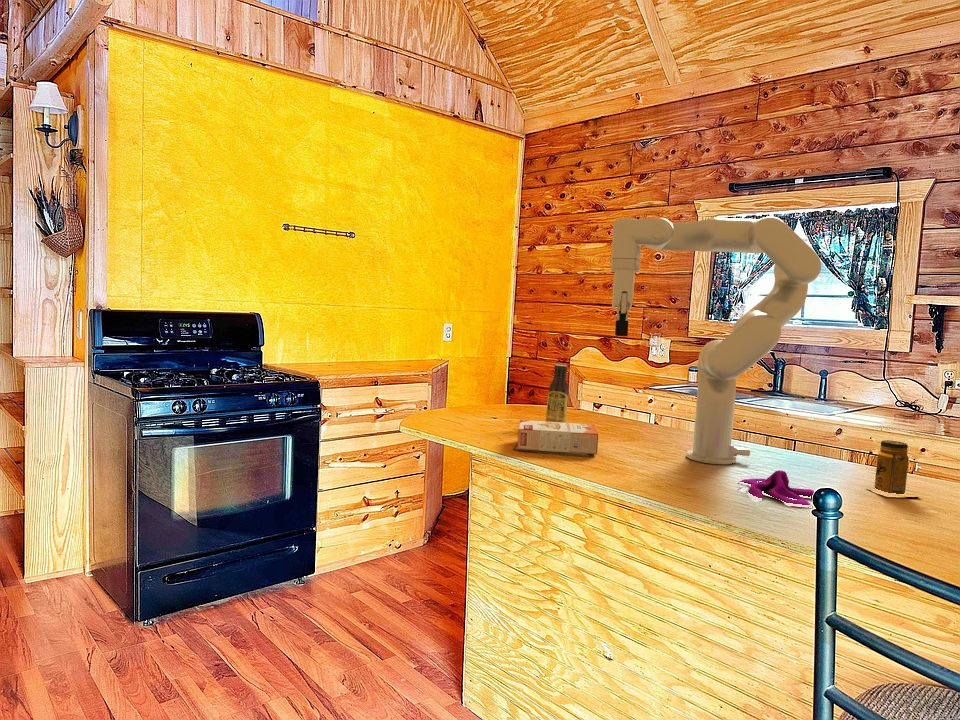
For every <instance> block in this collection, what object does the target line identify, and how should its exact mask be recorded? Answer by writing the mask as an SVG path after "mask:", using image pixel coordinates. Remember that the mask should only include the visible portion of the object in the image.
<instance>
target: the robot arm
mask: <svg viewBox="0 0 960 720" xmlns="http://www.w3.org/2000/svg"><path fill="white" fill-rule="evenodd" d="M611 243H612V244H611V258H610V272H612V273H614V274H613V275H614V276H613V284H612V285H613V286H612V300H611V303H612V304H611V308H612V309H616V308H617V309H616V311H617V312H616V321H615V329H614V335H615V336H616V337H628V334H629V310H630V309H632V305H633V299H634V290H635V280H636V279H635V277H636V276H635V275H636V273H640V272H641V256H642V246H645V247H646V248H647V249H650V250H655V251H660V250H661V251H695V252H705V253H707V252H710V253H711V252H713V253H741V254H743V253H744V254H745V253H746V254H765V255H766V256H767V257H768V258H769V259H770V261H771V262H773V264H774V266H773V274H774V275H773V276H774V284H773V287H772V289H771V290H770V292H768V294H767V295H766V296H765V297H764V298H763V299H761V300H760V301H759V302H758V303H756V304H755V305H754V306H753V307H752V308H750V309H749V311H747V312H746V313H744V314H742V315H741V316H740V317H739V318H738V319H737V320H736V322H735V323H734V325H733V328H732V332H731V333H729V334H728V335H727V336H726V337H725V338H723V339H713V340H711V341H709V342H707V343H706V344H705V345H704V346H703V347H702V348H701V349H700V352H699V355H698V358H697V359H698V360H697V393H696V395H697V396H696V404H695V405H696V406H695V416H694V419H695V420H694V431H693V443H692V449H689V450H687V451H686V452H685V454H686V455H685V456H686V458H688V459H690V460H692V461H694V462H698V463H699V462H700V463H704V464H709V465H710V464H712V465H732V463H733V464H735V463H736V462H737V456H743V457H750V455H751V449H750V448H744V447H740V446H739V447H738V446H735V445H734V444H733V443H732V440H733V429H734V416H735V405H736V404H735V403H736V395H737V393H736V392H737V378H738V377H740V376H741V375H743V374H745V372H747V371H748V370H749V369H751V368H752V367H753V366H754V365H755V364H757V363H758V362H759V361H760V360H762V359H763V358H764V357H765V356H766V355H767V354H768V353H769V352H771V351H772V350H773V349H774V348H775V347H776V346H777V344H778V343H779V341H780V339H781V335H782V328H783V327H784V326H785V325H786V324H787V323H788V322H789V321H791V320H792V319H793V318H794V317H795V316H796V315H797V314H798V313H799V312H800V310H801V309H802V308H803V306H804V304H805V303H806V299H807V296H808V290H809V284H810V283H812V282H813V281H815V280H816V279H817V278H818V277H819V276H820V273H821V271H822V261H821V258H820V257H819V255H818V254H817V253H816V252H815V250H814V249H812V247H810V245H809V244H807V243H806V241H805V240H803V239H802V237H800V235H798V234H797V233H796V232H795V231H794V230H793V229H792V228H791V227H790V226H789V225H788V224H787V223H785V222H784V221H783V220H782V219H781V218H779V217H776V216H766V217H765V216H764V217H762V218H760V219H759V218H758V219H753V218H723V217H722V218H720V217H714V218H713V217H712V218H706V219H702V220H697V221H688V222H687V221H686V222H671V221H669V220H668V219H667V218H664V217H650V218H633V217H622V218H621V217H620V218H617V219H615V220H614V221H613V225H612V242H611Z"/></svg>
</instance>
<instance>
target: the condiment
mask: <svg viewBox="0 0 960 720" xmlns="http://www.w3.org/2000/svg"><path fill="white" fill-rule="evenodd" d="M908 448H909V446H908V443H906V442H902V441H897V440H890V439H888V440H886V439H885V440H881V442H880V447H879V452H878V453H877V459H876V470H875V480H874V487H875V488H876V489H878V490H881V491H884V492H888V493H896V494H904V493H905V492H906V489H907V487H906V486H907V477H908V467H909V460H910V459H909V455H908ZM875 488H874V489H875Z"/></svg>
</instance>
